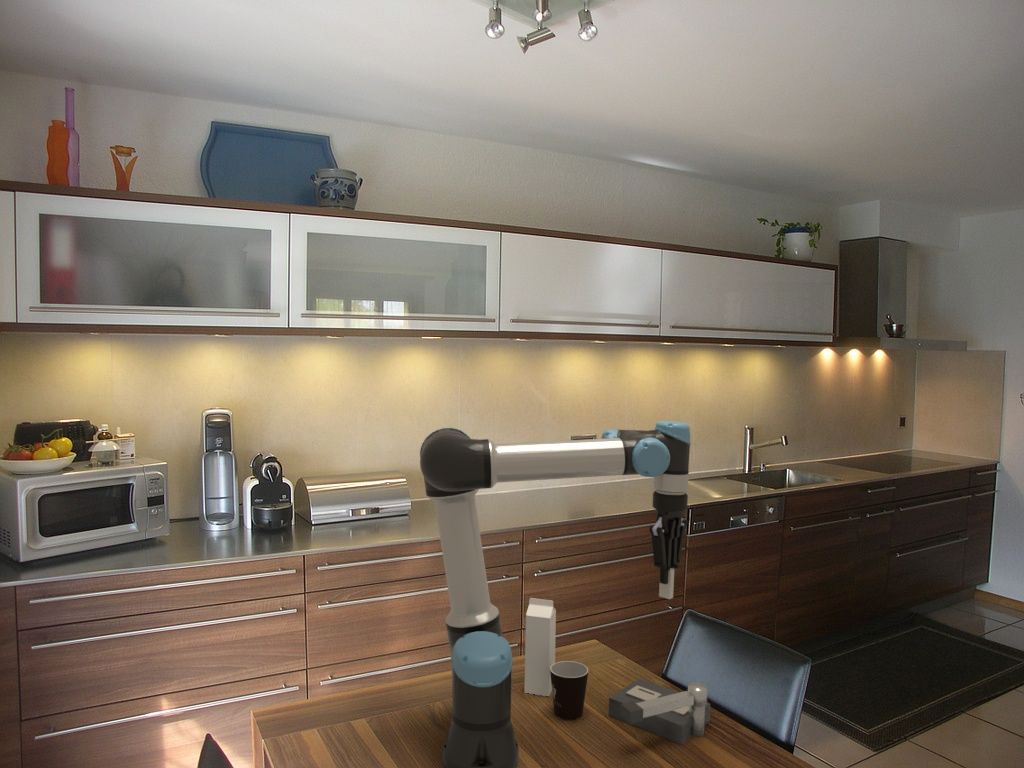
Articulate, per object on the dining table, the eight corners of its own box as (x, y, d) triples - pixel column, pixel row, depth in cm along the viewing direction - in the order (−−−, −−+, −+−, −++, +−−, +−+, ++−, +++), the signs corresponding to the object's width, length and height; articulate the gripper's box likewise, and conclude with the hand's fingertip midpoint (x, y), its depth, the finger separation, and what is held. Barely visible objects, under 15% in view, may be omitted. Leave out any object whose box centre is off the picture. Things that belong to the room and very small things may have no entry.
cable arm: (698, 695, 156) (698, 681, 156) (710, 703, 152) (711, 689, 152) (619, 715, 147) (620, 699, 147) (631, 724, 143) (631, 708, 143)
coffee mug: (585, 724, 156) (586, 679, 156) (546, 720, 158) (547, 675, 157) (590, 699, 167) (591, 657, 167) (553, 695, 169) (554, 654, 169)
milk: (530, 682, 176) (532, 593, 175) (554, 686, 174) (556, 596, 173) (524, 693, 170) (525, 601, 169) (549, 697, 168) (550, 604, 167)
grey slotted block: (608, 715, 160) (609, 686, 160) (639, 695, 170) (639, 668, 170) (688, 747, 147) (689, 716, 147) (716, 723, 157) (717, 694, 157)
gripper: (670, 485, 166) (665, 586, 166) (640, 492, 156) (635, 599, 157) (699, 490, 161) (695, 594, 161) (670, 497, 151) (666, 608, 152)
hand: (666, 596), depth 159 cm, fingers closed
